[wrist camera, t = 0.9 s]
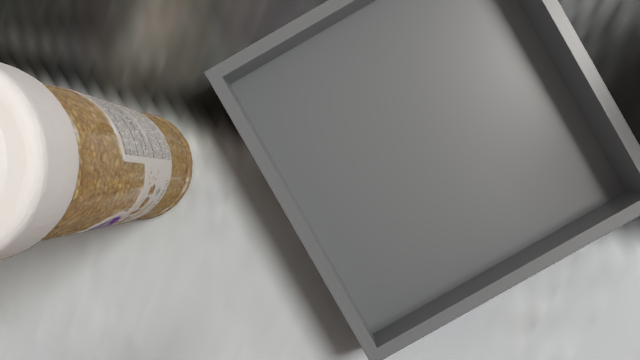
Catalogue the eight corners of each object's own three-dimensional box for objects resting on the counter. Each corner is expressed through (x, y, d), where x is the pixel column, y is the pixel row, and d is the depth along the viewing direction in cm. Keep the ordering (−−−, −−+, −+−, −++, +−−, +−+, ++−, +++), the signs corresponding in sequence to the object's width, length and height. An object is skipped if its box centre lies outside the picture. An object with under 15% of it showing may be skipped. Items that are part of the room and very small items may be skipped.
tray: (367, 345, 25) (372, 365, 22) (216, 82, 25) (204, 72, 22) (634, 195, 24) (669, 198, 22) (483, -72, 24) (501, -100, 22)
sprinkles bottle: (128, 238, 25) (-110, 320, 11) (70, 148, 25) (-237, 124, 11) (217, 180, 25) (83, 195, 11) (159, 90, 25) (-45, -3, 11)
